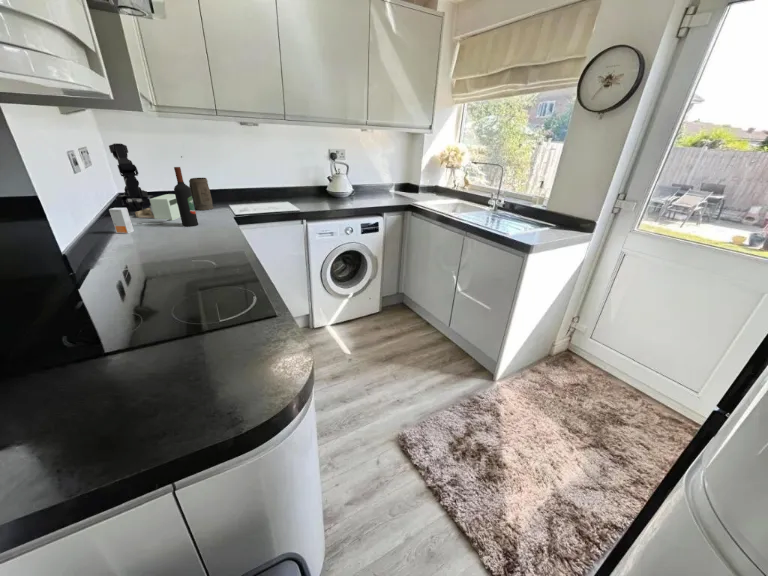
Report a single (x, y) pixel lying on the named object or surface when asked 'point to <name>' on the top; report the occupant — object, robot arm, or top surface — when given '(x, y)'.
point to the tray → (144, 213)
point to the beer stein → (201, 193)
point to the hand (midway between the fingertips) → (140, 213)
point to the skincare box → (121, 220)
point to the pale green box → (165, 207)
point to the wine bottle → (184, 201)
